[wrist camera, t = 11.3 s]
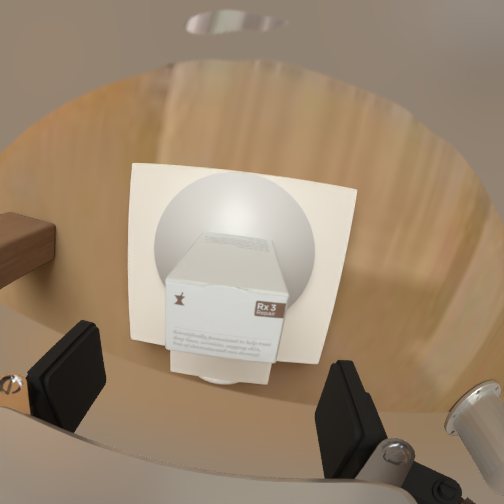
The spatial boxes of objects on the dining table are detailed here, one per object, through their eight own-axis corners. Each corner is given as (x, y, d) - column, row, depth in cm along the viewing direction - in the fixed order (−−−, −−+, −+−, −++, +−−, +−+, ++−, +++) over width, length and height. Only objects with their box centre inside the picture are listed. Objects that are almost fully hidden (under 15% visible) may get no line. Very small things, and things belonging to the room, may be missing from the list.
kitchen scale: (347, 187, 28) (375, 194, 21) (312, 351, 33) (323, 394, 26) (144, 163, 28) (110, 163, 21) (140, 328, 33) (116, 365, 26)
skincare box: (199, 276, 26) (158, 356, 15) (203, 226, 25) (157, 277, 14) (268, 285, 27) (275, 372, 15) (276, 235, 25) (291, 294, 14)
